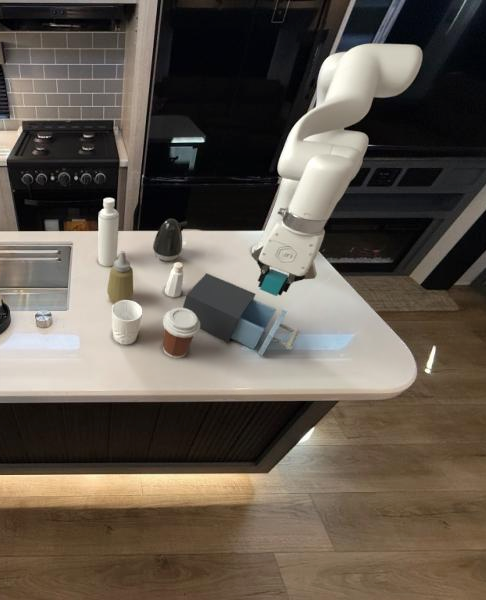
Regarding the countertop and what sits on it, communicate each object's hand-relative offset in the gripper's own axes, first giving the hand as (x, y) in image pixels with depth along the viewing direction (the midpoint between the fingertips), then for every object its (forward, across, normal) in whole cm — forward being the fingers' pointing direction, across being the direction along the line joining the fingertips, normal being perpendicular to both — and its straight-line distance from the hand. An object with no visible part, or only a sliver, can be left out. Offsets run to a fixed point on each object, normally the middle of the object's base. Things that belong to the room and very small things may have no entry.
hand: (271, 287), depth 77 cm
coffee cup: (+17, -13, -18) cm, 28 cm away
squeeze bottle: (+17, -36, -12) cm, 42 cm away
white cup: (+17, -26, -23) cm, 39 cm away
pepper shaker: (+17, -26, +2) cm, 31 cm away
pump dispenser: (+17, -38, +18) cm, 45 cm away
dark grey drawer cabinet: (+17, -10, -1) cm, 20 cm away
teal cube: (0, 0, 0) cm, 0 cm away
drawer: (+16, +1, -1) cm, 16 cm away
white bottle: (+17, -52, +2) cm, 55 cm away
